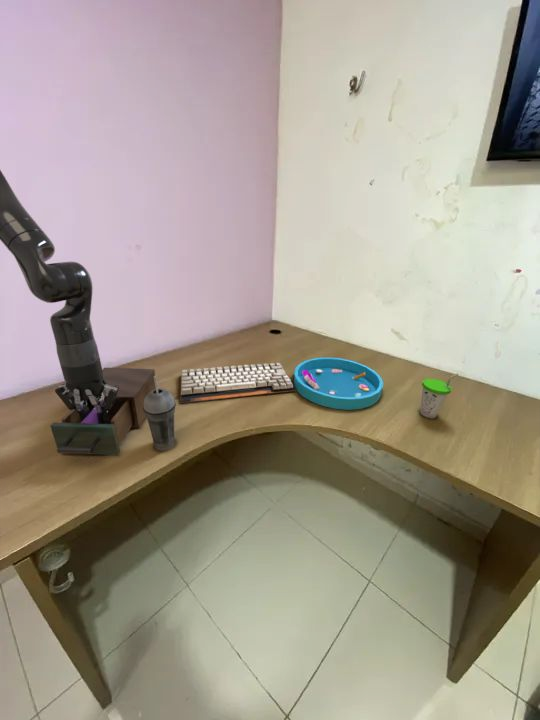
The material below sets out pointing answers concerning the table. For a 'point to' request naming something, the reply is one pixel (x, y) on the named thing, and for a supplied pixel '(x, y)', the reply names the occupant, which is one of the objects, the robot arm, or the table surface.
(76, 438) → the drawer
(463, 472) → the table surface
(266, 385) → the mechanical keyboard
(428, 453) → the table surface
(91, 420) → the glue stick
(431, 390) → the cup
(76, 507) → the table surface
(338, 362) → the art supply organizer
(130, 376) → the cabinet
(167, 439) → the beverage cup
